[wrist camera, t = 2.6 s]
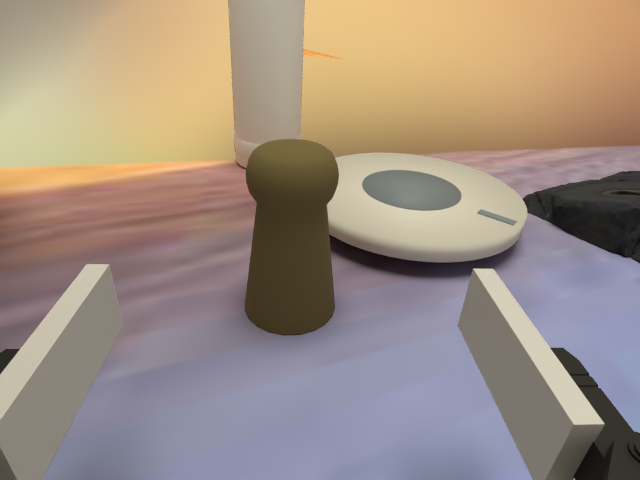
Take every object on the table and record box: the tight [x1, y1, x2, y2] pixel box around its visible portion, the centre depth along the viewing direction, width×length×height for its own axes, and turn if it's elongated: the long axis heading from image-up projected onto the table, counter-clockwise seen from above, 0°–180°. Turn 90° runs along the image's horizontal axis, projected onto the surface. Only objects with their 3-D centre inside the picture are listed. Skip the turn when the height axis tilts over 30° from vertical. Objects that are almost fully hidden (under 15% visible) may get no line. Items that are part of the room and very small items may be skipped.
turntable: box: [327, 153, 527, 262], centre depth 39 cm, size 20×20×2 cm
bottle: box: [228, 0, 305, 168], centre depth 45 cm, size 8×8×30 cm
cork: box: [245, 139, 339, 335], centre depth 26 cm, size 6×6×11 cm
